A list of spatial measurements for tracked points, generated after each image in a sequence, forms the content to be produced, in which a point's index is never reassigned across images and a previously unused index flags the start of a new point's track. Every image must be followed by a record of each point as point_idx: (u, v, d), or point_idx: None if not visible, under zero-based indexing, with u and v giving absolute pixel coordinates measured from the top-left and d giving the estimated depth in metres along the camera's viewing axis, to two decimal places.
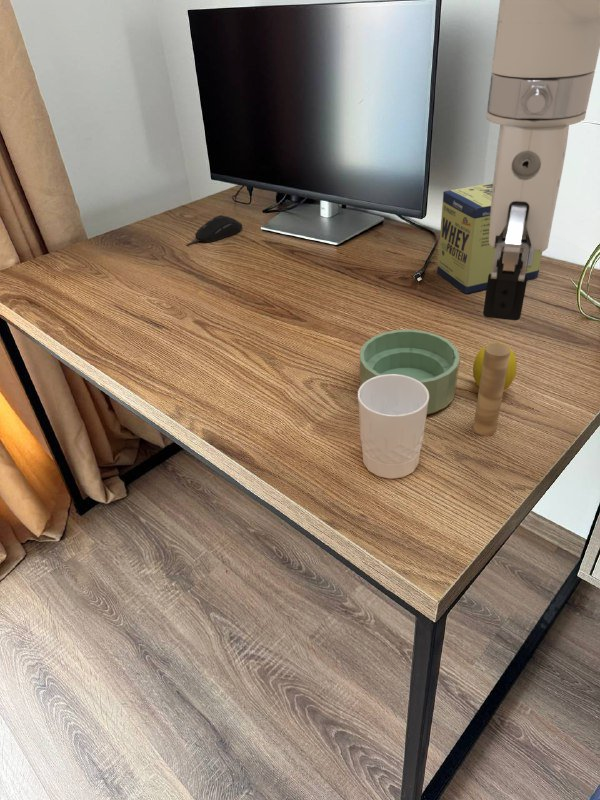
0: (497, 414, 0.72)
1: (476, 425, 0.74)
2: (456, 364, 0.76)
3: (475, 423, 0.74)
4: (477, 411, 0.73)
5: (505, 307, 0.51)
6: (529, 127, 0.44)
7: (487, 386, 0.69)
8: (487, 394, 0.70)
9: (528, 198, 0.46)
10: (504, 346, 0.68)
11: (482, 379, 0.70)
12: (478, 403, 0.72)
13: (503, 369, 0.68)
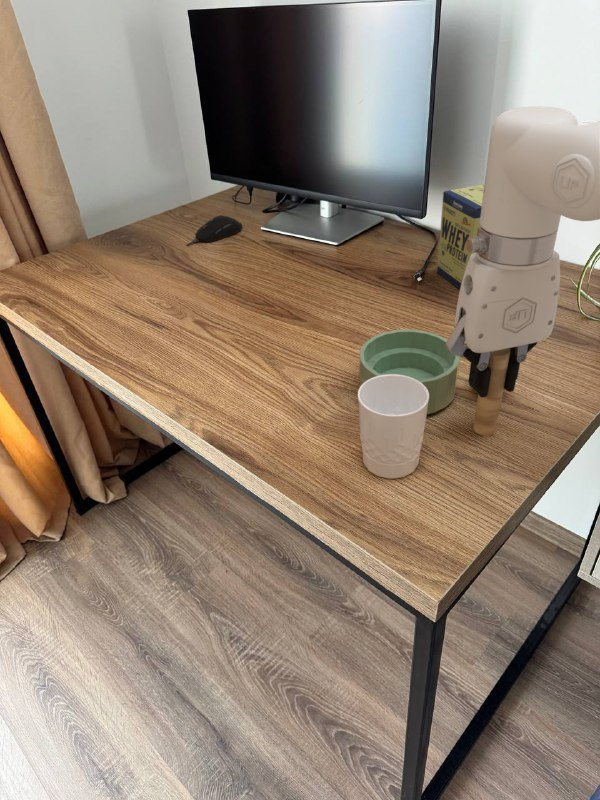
0: (497, 414, 0.72)
1: (476, 425, 0.74)
2: (456, 364, 0.76)
3: (475, 423, 0.74)
4: (477, 411, 0.73)
5: (473, 383, 0.69)
6: (478, 260, 0.60)
7: None
8: None
9: (466, 308, 0.62)
10: None
11: None
12: (478, 403, 0.72)
13: (503, 369, 0.68)
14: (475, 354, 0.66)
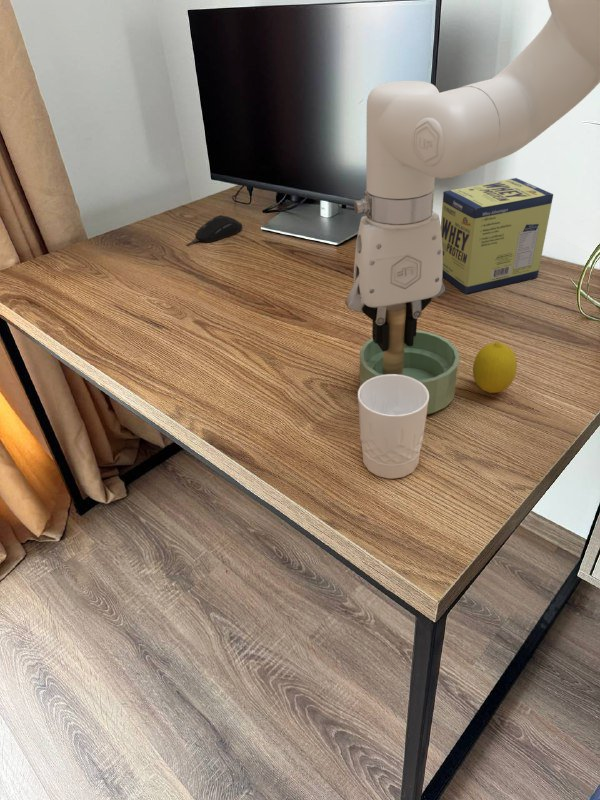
0: (400, 368, 0.79)
1: None
2: (456, 364, 0.76)
3: None
4: (383, 365, 0.79)
5: (375, 338, 0.76)
6: (366, 221, 0.67)
7: None
8: (389, 348, 0.77)
9: (359, 266, 0.69)
10: (401, 303, 0.75)
11: None
12: (383, 358, 0.79)
13: (400, 324, 0.74)
14: (373, 310, 0.73)
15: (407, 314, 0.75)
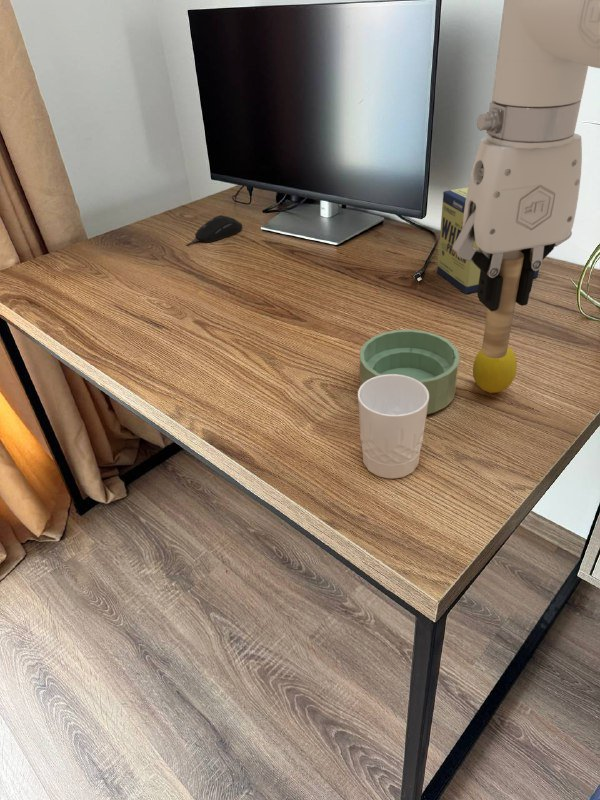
0: (508, 332, 0.66)
1: (484, 347, 0.67)
2: (456, 364, 0.76)
3: (484, 344, 0.67)
4: (486, 330, 0.66)
5: (482, 295, 0.63)
6: (490, 142, 0.54)
7: None
8: None
9: (476, 200, 0.56)
10: (517, 252, 0.61)
11: None
12: (487, 320, 0.65)
13: (516, 277, 0.61)
14: (485, 258, 0.60)
15: (523, 265, 0.62)
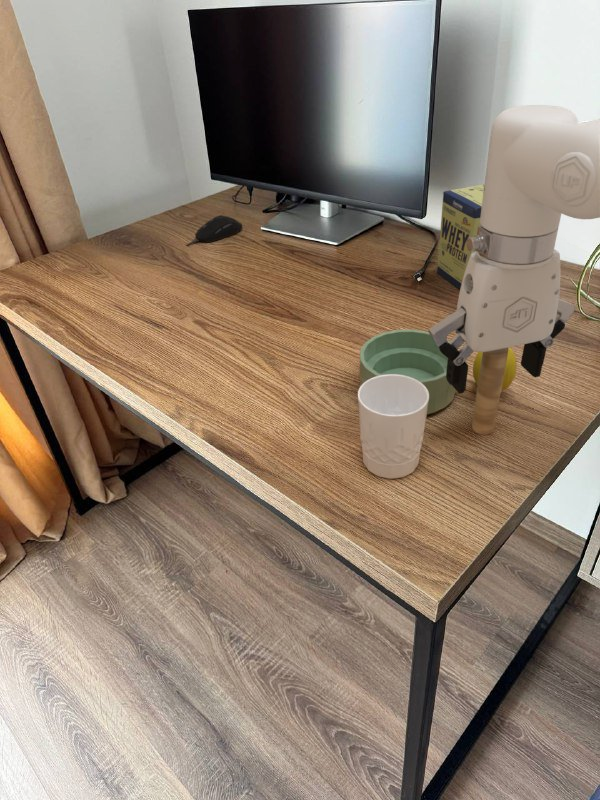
0: (495, 413, 0.72)
1: (474, 424, 0.74)
2: None
3: (473, 422, 0.74)
4: (475, 410, 0.73)
5: (450, 378, 0.68)
6: (478, 259, 0.60)
7: (485, 385, 0.70)
8: (485, 392, 0.70)
9: (466, 307, 0.62)
10: None
11: (480, 378, 0.70)
12: (476, 402, 0.72)
13: (501, 368, 0.68)
14: (451, 349, 0.65)
15: (536, 342, 0.68)
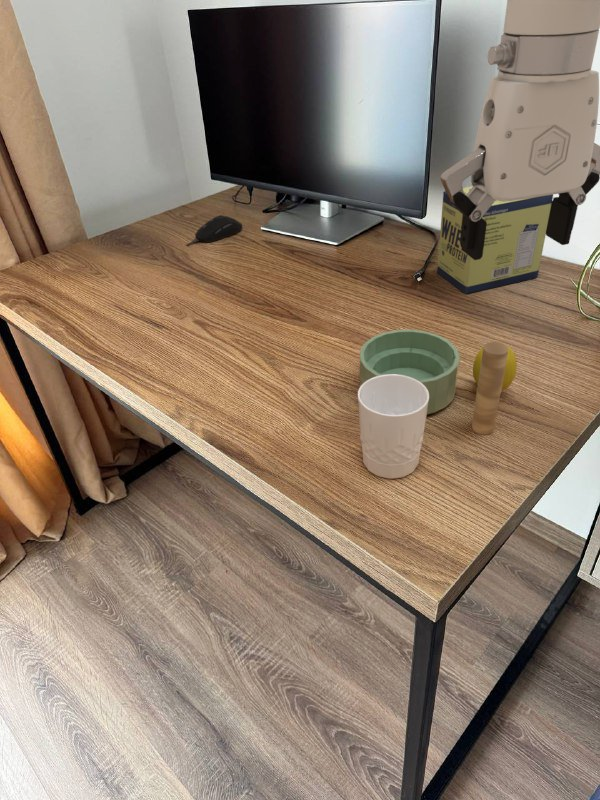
0: (495, 413, 0.72)
1: (474, 424, 0.74)
2: (456, 364, 0.76)
3: (473, 422, 0.74)
4: (475, 410, 0.73)
5: (465, 242, 0.58)
6: (501, 78, 0.50)
7: (485, 385, 0.70)
8: (485, 392, 0.70)
9: (486, 143, 0.53)
10: (502, 345, 0.68)
11: (480, 378, 0.70)
12: (476, 402, 0.72)
13: (501, 368, 0.68)
14: (467, 199, 0.55)
15: (565, 200, 0.58)
